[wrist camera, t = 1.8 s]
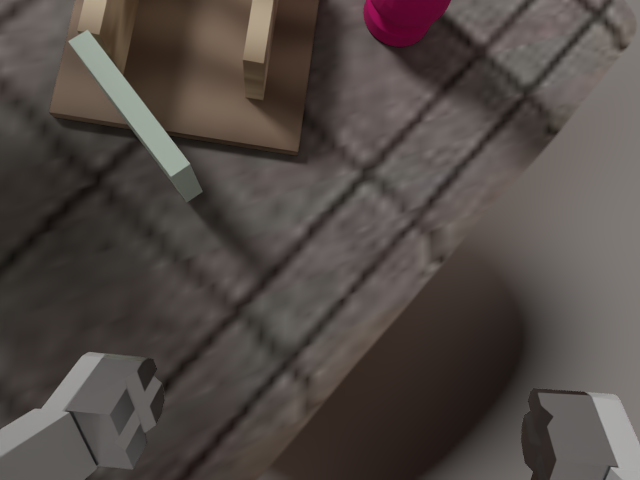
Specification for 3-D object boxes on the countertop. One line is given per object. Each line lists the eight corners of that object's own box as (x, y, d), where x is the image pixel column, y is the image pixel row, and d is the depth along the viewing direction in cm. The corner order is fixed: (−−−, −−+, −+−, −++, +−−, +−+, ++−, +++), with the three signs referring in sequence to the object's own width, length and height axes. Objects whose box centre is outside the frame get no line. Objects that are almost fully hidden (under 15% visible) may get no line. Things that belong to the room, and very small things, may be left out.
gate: (186, 202, 39) (170, 177, 32) (101, 90, 39) (67, 41, 32) (202, 191, 39) (190, 164, 32) (117, 80, 39) (87, 29, 33)
